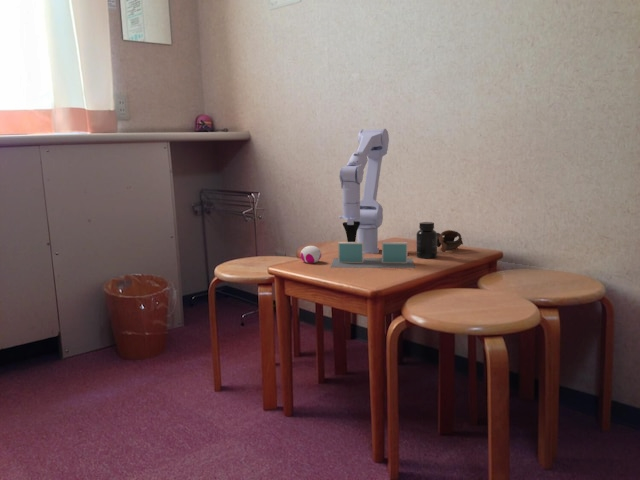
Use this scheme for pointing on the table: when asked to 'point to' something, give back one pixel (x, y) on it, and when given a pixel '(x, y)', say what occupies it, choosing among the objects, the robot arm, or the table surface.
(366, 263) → the mat
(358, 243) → the tile
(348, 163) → the robot arm
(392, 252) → the tile
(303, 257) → the stress ball
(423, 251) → the supplement bottle
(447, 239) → the brown curved piece
